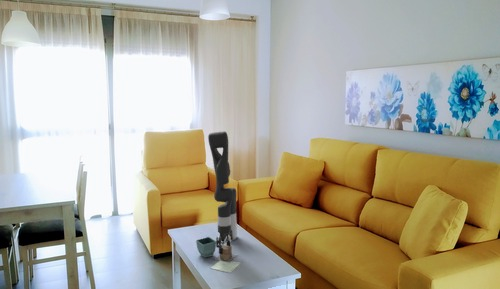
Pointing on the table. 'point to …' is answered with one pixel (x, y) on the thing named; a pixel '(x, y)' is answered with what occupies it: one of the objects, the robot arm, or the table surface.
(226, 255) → the walnut block
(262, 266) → the table surface
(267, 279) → the table surface
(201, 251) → the flower pot
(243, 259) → the table surface
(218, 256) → the tile
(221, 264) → the coaster
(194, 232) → the table surface
